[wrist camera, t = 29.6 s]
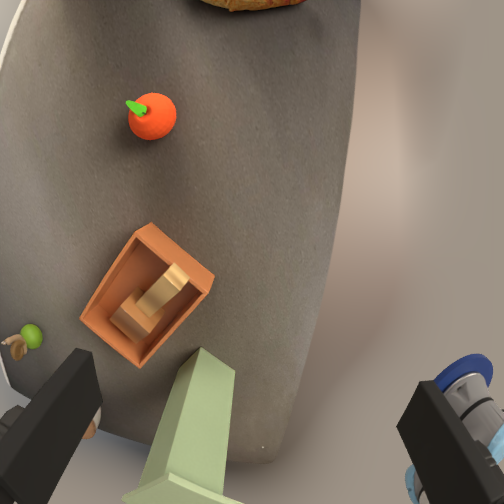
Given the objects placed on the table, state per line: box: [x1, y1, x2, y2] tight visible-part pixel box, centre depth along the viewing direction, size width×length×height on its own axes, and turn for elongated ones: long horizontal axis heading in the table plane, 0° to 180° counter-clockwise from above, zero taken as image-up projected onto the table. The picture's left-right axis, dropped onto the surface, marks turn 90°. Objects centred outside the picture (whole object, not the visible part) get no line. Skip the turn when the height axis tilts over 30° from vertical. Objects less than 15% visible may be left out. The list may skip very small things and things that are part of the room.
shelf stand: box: [122, 347, 244, 504], centre depth 38 cm, size 12×10×30 cm
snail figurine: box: [1, 324, 42, 361], centre depth 46 cm, size 5×6×12 cm
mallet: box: [109, 263, 190, 344], centre depth 43 cm, size 16×6×5 cm, turn 135°
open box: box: [79, 222, 215, 369], centre depth 46 cm, size 19×13×7 cm
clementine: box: [126, 93, 176, 140], centre depth 38 cm, size 8×7×7 cm
